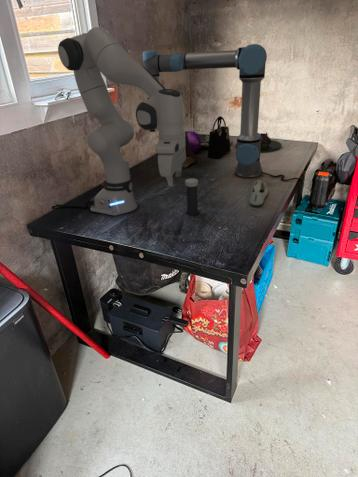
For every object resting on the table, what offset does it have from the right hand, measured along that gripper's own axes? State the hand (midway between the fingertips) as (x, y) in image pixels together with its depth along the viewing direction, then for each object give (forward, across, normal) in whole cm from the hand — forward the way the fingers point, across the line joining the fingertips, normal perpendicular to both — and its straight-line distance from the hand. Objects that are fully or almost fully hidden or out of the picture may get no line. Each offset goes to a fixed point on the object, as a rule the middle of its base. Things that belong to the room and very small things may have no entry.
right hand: (156, 128), depth 177 cm
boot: (+28, -30, +9) cm, 42 cm away
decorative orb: (+28, -53, +5) cm, 60 cm away
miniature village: (+28, -74, +50) cm, 93 cm away
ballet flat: (+28, +20, +57) cm, 67 cm away
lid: (+13, +42, +29) cm, 53 cm away
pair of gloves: (+28, -76, +14) cm, 83 cm away
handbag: (+28, -50, +26) cm, 63 cm away
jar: (+28, +42, +29) cm, 58 cm away
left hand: (+4, +66, +29) cm, 72 cm away
